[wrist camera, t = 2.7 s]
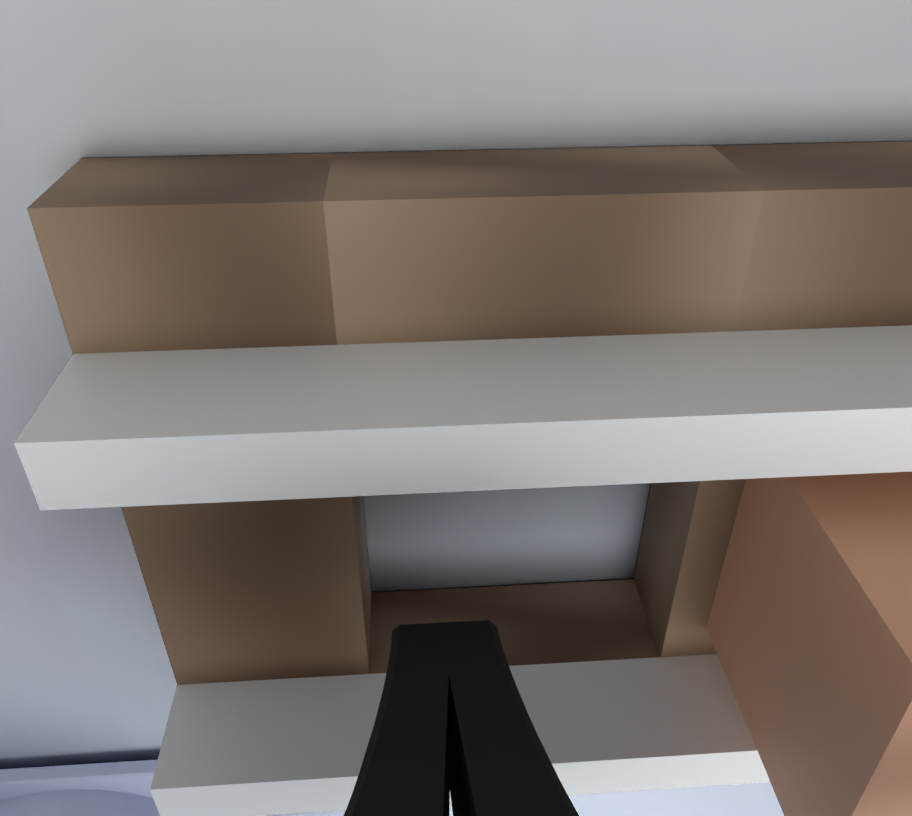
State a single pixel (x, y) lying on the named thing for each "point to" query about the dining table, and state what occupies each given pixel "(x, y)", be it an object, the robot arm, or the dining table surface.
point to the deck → (456, 319)
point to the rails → (458, 470)
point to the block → (823, 638)
